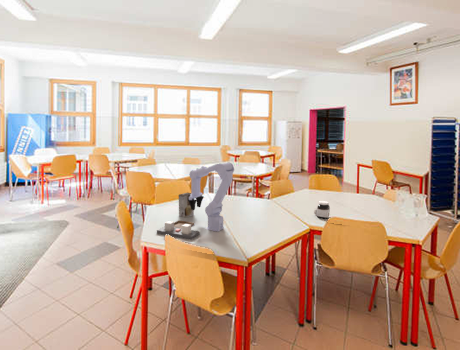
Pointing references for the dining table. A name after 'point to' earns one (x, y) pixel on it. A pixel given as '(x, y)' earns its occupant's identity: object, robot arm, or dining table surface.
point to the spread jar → (322, 210)
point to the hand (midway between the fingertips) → (195, 208)
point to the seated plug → (169, 226)
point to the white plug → (186, 229)
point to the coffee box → (185, 205)
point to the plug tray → (181, 223)
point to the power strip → (178, 233)
